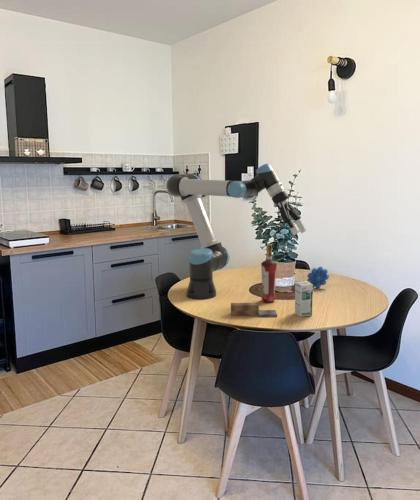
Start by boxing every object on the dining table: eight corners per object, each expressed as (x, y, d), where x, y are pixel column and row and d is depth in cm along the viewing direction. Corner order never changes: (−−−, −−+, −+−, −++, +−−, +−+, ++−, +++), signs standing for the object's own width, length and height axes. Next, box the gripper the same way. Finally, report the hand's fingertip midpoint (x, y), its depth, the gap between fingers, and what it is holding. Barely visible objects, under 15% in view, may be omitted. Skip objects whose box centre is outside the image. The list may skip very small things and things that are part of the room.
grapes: (326, 286, 241) (327, 264, 239) (329, 289, 234) (330, 267, 232) (305, 286, 242) (305, 264, 240) (307, 289, 235) (307, 267, 233)
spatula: (231, 317, 193) (231, 306, 193) (230, 312, 199) (230, 302, 198) (277, 317, 193) (277, 306, 192) (275, 312, 199) (275, 301, 198)
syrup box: (300, 317, 192) (301, 284, 190) (294, 312, 198) (295, 281, 195) (312, 315, 194) (313, 283, 191) (305, 311, 200) (306, 280, 197)
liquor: (258, 299, 218) (258, 244, 213) (271, 298, 220) (272, 242, 215) (265, 304, 211) (266, 246, 206) (278, 302, 214) (279, 245, 209)
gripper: (276, 189, 197) (300, 230, 194) (292, 190, 219) (313, 227, 216) (262, 198, 200) (285, 239, 197) (279, 198, 222) (300, 234, 220)
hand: (300, 233), depth 207 cm, fingers open, 13 cm apart
